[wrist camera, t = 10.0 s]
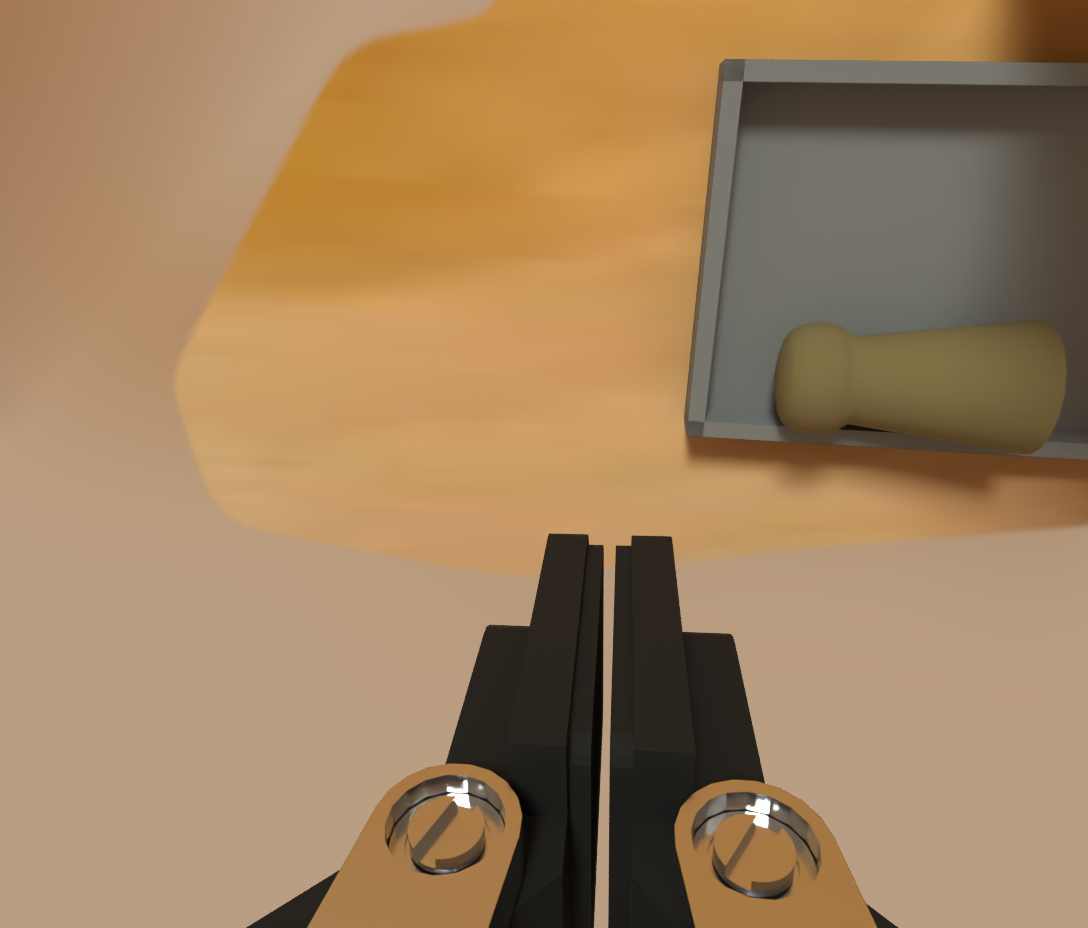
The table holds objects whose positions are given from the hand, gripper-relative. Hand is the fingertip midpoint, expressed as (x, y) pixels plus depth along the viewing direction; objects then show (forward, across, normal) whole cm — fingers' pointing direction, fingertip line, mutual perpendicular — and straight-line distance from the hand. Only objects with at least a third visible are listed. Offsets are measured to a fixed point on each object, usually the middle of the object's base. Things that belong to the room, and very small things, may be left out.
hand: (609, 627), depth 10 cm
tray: (+29, -16, 0) cm, 33 cm away
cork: (+26, -18, +4) cm, 32 cm away
